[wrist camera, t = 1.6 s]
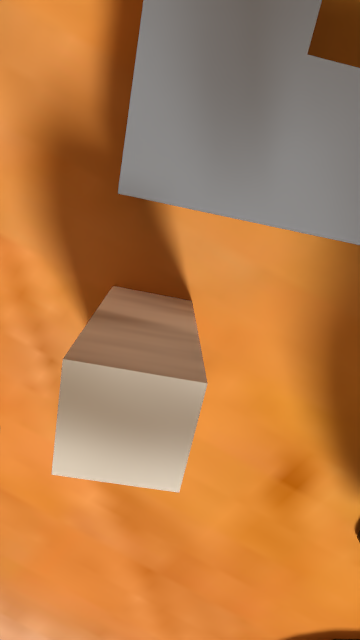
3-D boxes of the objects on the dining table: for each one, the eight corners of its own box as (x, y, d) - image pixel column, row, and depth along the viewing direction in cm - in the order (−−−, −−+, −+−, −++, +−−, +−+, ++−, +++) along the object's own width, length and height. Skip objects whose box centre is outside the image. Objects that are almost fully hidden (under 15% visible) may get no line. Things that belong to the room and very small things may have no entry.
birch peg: (176, 370, 20) (179, 492, 12) (102, 357, 20) (51, 474, 12) (191, 300, 19) (207, 383, 11) (112, 285, 19) (62, 358, 10)
